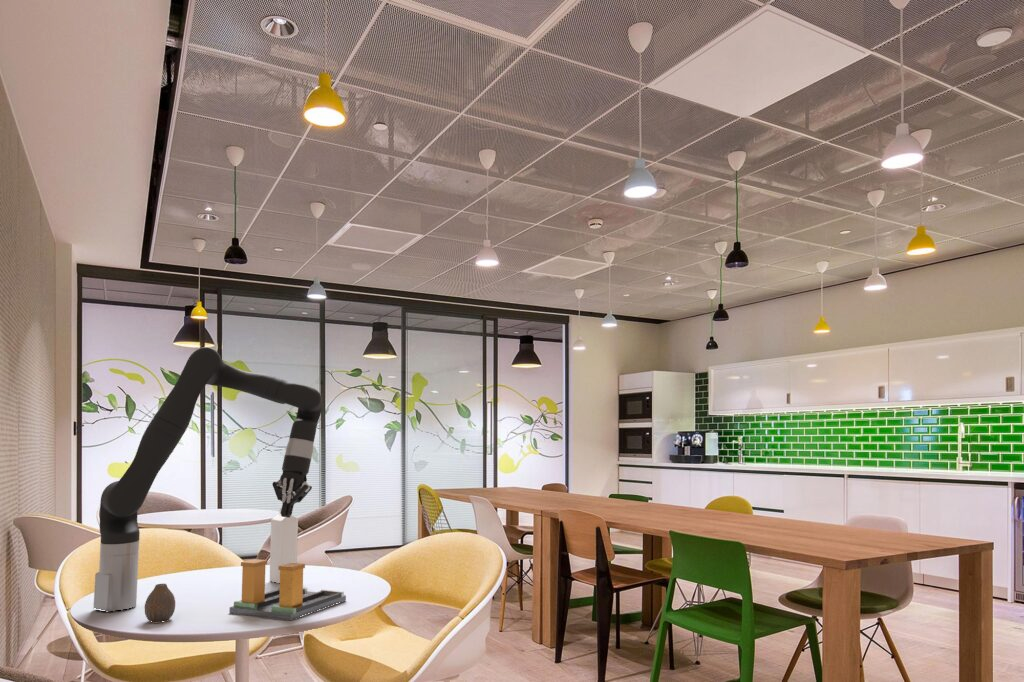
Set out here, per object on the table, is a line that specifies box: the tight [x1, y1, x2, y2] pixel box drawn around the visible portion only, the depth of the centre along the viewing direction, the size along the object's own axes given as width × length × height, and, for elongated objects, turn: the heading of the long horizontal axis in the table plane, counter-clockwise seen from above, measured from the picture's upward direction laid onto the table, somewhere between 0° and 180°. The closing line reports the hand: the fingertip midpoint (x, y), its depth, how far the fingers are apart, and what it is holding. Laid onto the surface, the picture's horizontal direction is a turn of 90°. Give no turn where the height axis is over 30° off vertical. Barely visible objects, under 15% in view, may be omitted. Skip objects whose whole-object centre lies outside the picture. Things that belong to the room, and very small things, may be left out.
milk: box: [269, 507, 299, 584], centre depth 230 cm, size 6×6×22 cm
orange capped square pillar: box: [240, 558, 268, 603], centre depth 192 cm, size 5×5×11 cm
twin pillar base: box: [228, 562, 347, 622], centre depth 196 cm, size 22×20×12 cm
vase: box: [144, 583, 176, 623], centre depth 183 cm, size 7×7×9 cm
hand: (285, 516), depth 209 cm, fingers closed
